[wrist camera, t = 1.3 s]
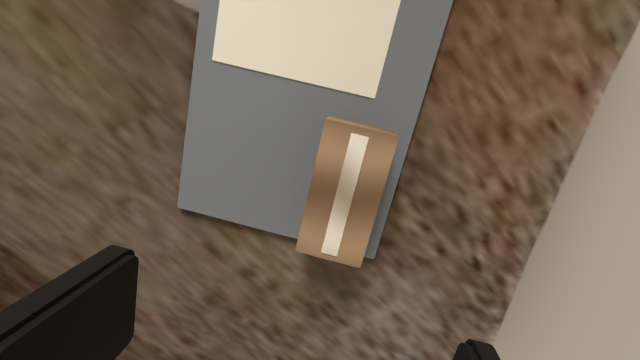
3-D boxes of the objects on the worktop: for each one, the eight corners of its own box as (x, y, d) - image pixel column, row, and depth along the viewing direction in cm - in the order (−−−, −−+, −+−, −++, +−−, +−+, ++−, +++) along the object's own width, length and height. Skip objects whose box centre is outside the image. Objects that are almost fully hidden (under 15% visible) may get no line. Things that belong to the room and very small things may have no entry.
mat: (373, 256, 29) (374, 259, 28) (180, 205, 30) (176, 207, 29) (467, -52, 22) (470, -56, 21) (216, -104, 23) (212, -110, 22)
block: (360, 244, 28) (360, 269, 24) (303, 230, 28) (294, 251, 24) (393, 130, 25) (399, 136, 21) (330, 115, 25) (325, 118, 21)
